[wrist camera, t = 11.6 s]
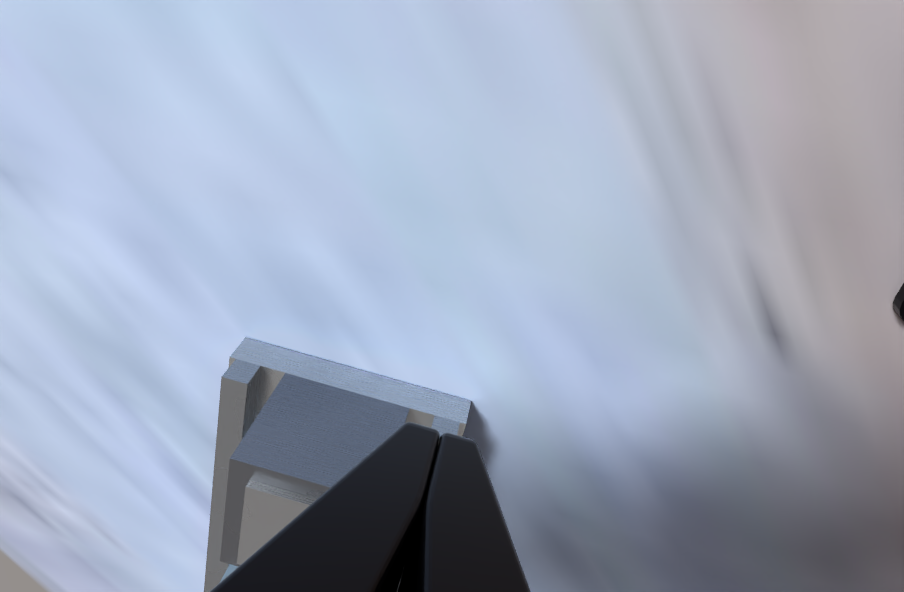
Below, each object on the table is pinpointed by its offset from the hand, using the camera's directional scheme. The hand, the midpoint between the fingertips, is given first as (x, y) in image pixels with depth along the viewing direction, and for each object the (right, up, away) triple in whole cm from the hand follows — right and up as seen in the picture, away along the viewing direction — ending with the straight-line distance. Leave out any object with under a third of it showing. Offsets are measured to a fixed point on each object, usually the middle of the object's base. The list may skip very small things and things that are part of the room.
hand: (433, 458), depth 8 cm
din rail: (-5, -8, +19) cm, 21 cm away
